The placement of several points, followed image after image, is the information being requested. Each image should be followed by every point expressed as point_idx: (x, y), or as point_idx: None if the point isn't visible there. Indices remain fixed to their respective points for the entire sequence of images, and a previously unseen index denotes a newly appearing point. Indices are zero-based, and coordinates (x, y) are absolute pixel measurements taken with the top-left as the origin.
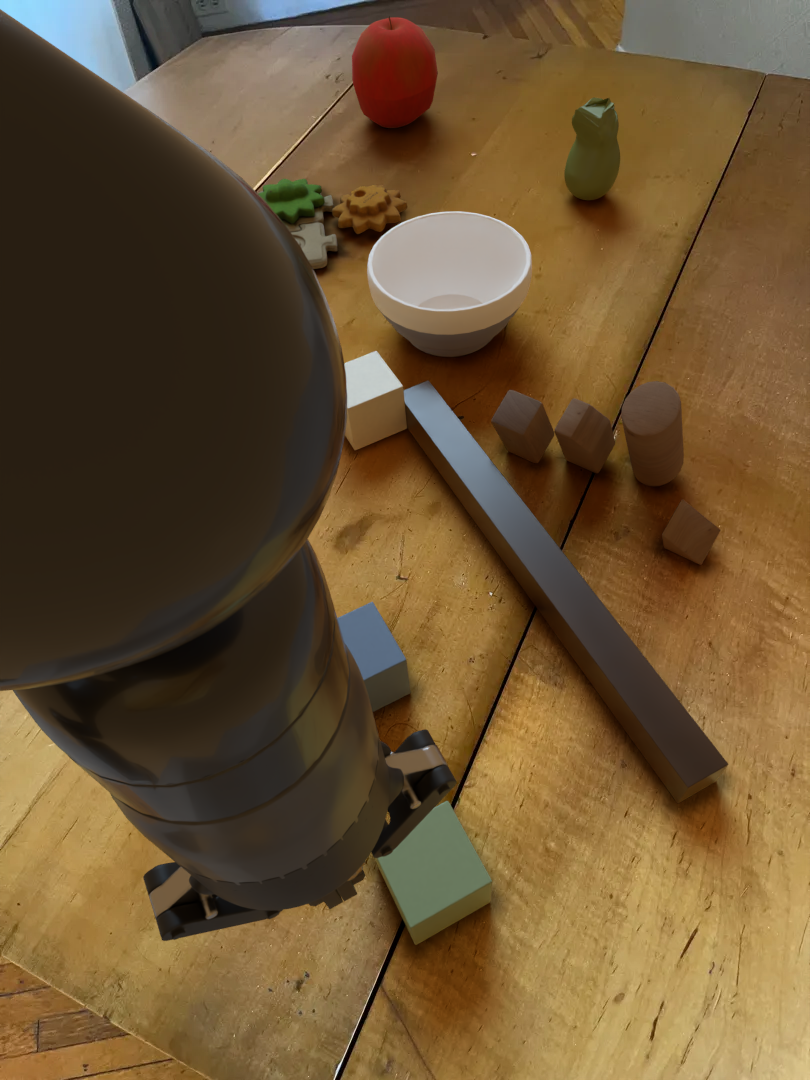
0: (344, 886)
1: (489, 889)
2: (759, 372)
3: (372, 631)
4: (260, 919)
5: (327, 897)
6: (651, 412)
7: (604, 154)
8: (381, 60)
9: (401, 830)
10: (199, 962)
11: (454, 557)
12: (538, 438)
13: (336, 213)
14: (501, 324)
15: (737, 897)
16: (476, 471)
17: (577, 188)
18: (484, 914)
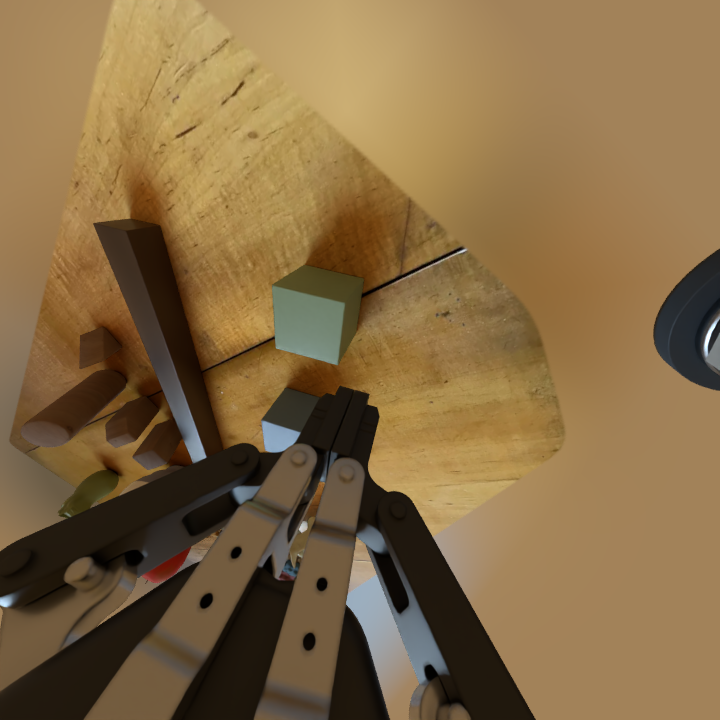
0: (329, 427)
1: (284, 278)
2: (50, 374)
3: (272, 441)
4: (416, 513)
5: (352, 429)
6: (45, 432)
7: (82, 492)
8: (160, 570)
9: (180, 495)
10: (487, 367)
11: (232, 416)
12: (155, 435)
13: (216, 534)
14: (153, 479)
15: (139, 134)
16: (193, 444)
17: (110, 482)
18: (312, 261)
